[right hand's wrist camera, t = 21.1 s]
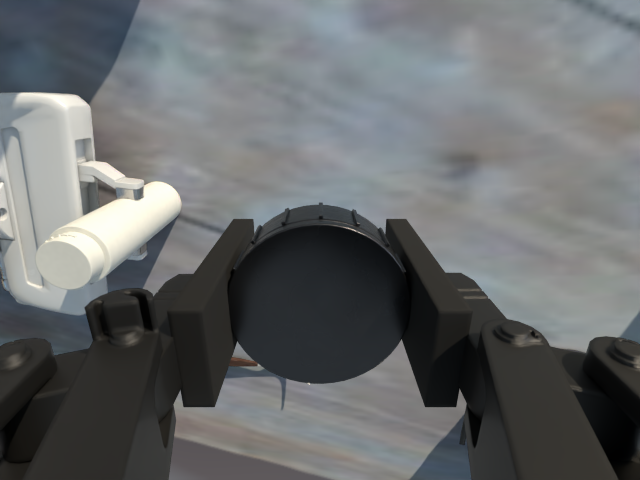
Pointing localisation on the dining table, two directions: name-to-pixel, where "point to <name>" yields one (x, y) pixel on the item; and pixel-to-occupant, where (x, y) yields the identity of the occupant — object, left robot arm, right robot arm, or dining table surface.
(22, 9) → the dining table surface
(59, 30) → the dining table surface
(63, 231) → the white cylinder
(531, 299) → the dining table surface
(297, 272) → the lid
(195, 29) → the dining table surface
